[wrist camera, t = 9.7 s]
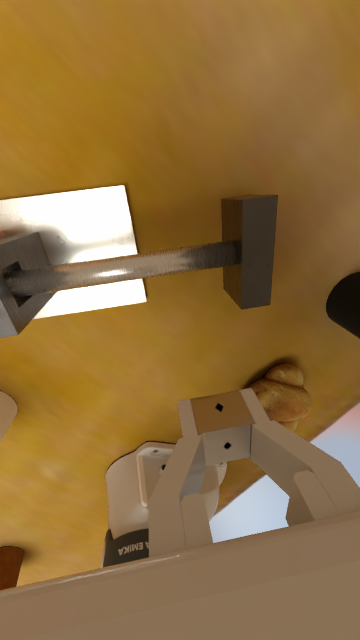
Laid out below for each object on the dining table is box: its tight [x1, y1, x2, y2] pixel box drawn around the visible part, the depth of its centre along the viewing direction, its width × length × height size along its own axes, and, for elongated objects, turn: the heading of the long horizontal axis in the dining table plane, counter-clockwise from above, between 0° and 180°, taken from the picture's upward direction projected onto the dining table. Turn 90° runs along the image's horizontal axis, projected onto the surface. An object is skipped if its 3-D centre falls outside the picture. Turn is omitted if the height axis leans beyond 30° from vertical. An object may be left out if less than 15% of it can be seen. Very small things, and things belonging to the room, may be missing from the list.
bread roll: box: [247, 363, 312, 433], centre depth 36 cm, size 13×10×8 cm
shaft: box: [3, 195, 278, 310], centre depth 19 cm, size 21×8×5 cm, turn 96°
